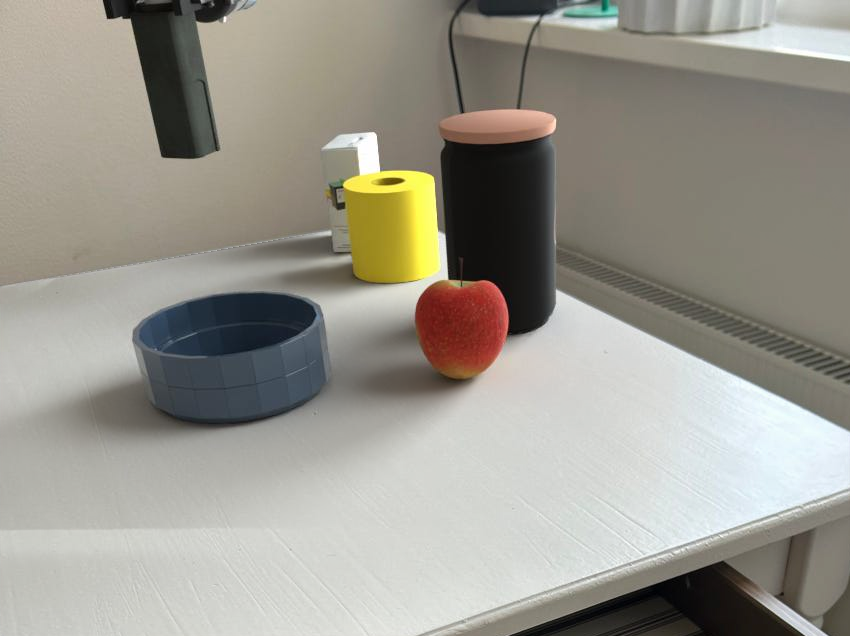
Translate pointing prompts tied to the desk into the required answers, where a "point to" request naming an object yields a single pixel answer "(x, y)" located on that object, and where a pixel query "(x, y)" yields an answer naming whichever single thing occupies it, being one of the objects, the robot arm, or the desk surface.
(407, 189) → the yellow toilet paper roll
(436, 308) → the apple
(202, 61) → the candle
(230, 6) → the robot arm
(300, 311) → the bowl
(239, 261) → the desk surface
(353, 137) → the ink box
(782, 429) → the desk surface
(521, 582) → the desk surface
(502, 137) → the coffee jar
